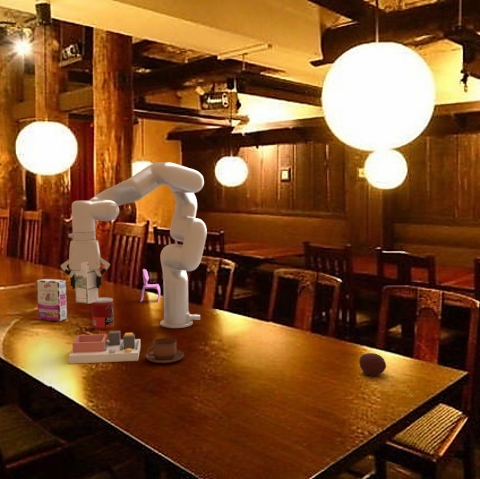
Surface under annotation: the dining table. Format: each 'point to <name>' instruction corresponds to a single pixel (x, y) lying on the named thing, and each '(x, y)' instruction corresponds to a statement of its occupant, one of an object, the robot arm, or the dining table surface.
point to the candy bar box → (52, 299)
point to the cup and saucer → (164, 351)
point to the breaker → (114, 338)
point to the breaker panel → (101, 350)
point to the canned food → (103, 313)
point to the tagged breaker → (129, 340)
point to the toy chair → (149, 285)
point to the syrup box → (85, 285)
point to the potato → (372, 364)
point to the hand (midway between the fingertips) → (86, 287)
